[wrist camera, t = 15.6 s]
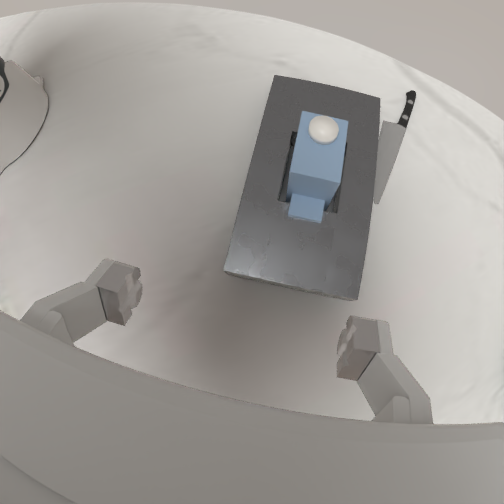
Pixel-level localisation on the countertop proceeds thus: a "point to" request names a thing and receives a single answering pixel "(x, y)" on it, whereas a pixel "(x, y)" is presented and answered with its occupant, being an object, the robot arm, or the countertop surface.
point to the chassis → (276, 212)
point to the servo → (316, 165)
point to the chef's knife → (390, 147)
